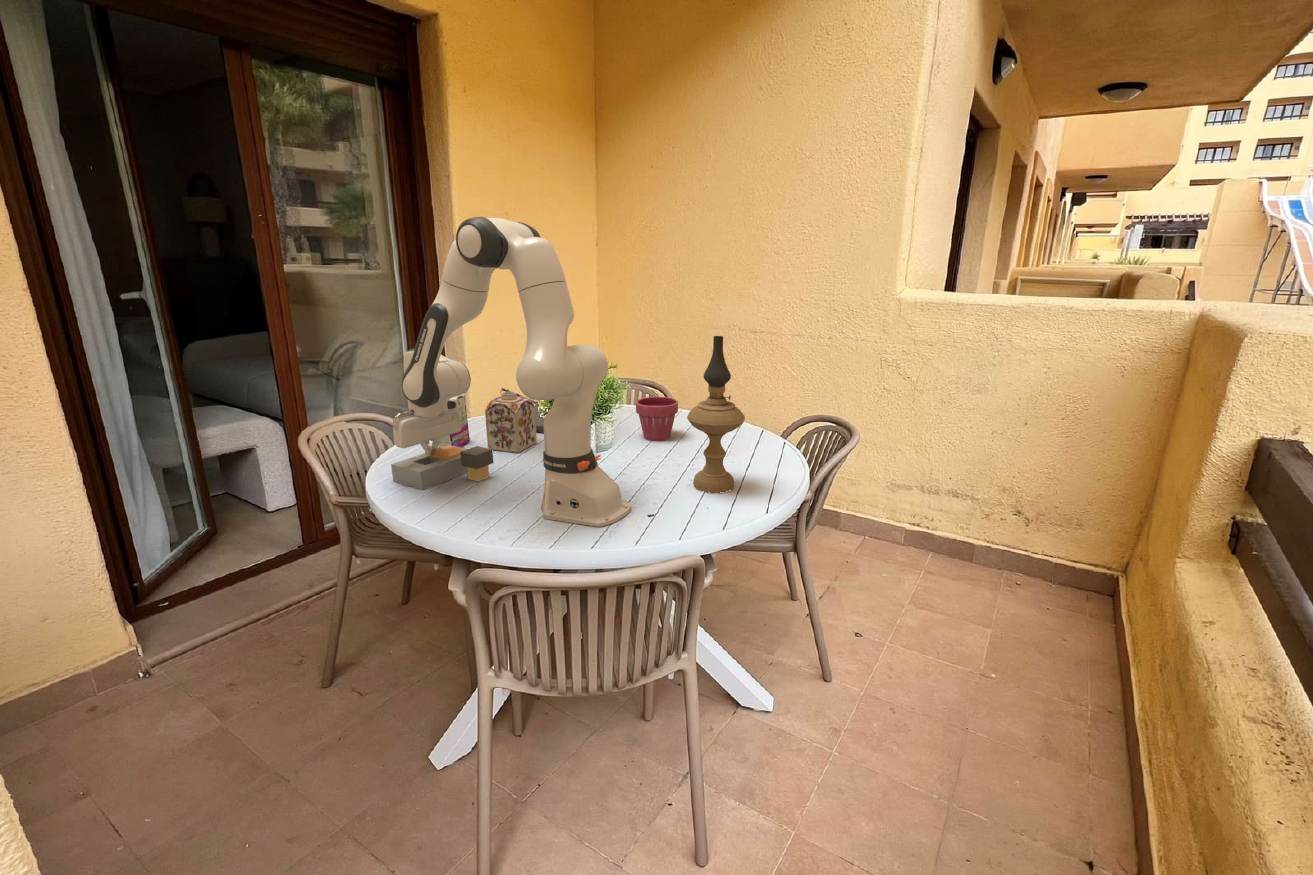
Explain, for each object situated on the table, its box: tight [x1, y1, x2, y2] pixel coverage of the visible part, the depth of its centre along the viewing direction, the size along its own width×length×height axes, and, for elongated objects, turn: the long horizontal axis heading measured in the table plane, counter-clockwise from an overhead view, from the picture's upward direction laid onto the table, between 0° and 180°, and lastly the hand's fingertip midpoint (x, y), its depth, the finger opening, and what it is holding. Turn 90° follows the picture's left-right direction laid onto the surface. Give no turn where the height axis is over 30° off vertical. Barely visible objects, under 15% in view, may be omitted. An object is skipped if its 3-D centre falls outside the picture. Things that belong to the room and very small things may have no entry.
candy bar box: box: [438, 394, 471, 448], centre depth 187 cm, size 11×5×16 cm, turn 168°
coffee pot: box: [499, 387, 545, 433], centre depth 207 cm, size 21×12×15 cm, turn 87°
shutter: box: [428, 444, 467, 460], centre depth 167 cm, size 8×8×3 cm
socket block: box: [390, 445, 468, 491], centre depth 164 cm, size 12×20×5 cm, turn 150°
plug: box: [460, 445, 494, 482], centre depth 161 cm, size 6×6×8 cm
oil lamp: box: [686, 335, 746, 494], centre depth 151 cm, size 15×15×40 cm
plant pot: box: [635, 396, 679, 442], centre depth 198 cm, size 14×14×13 cm
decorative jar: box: [484, 391, 538, 454], centre depth 187 cm, size 12×12×18 cm
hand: (431, 454), depth 162 cm, fingers closed
